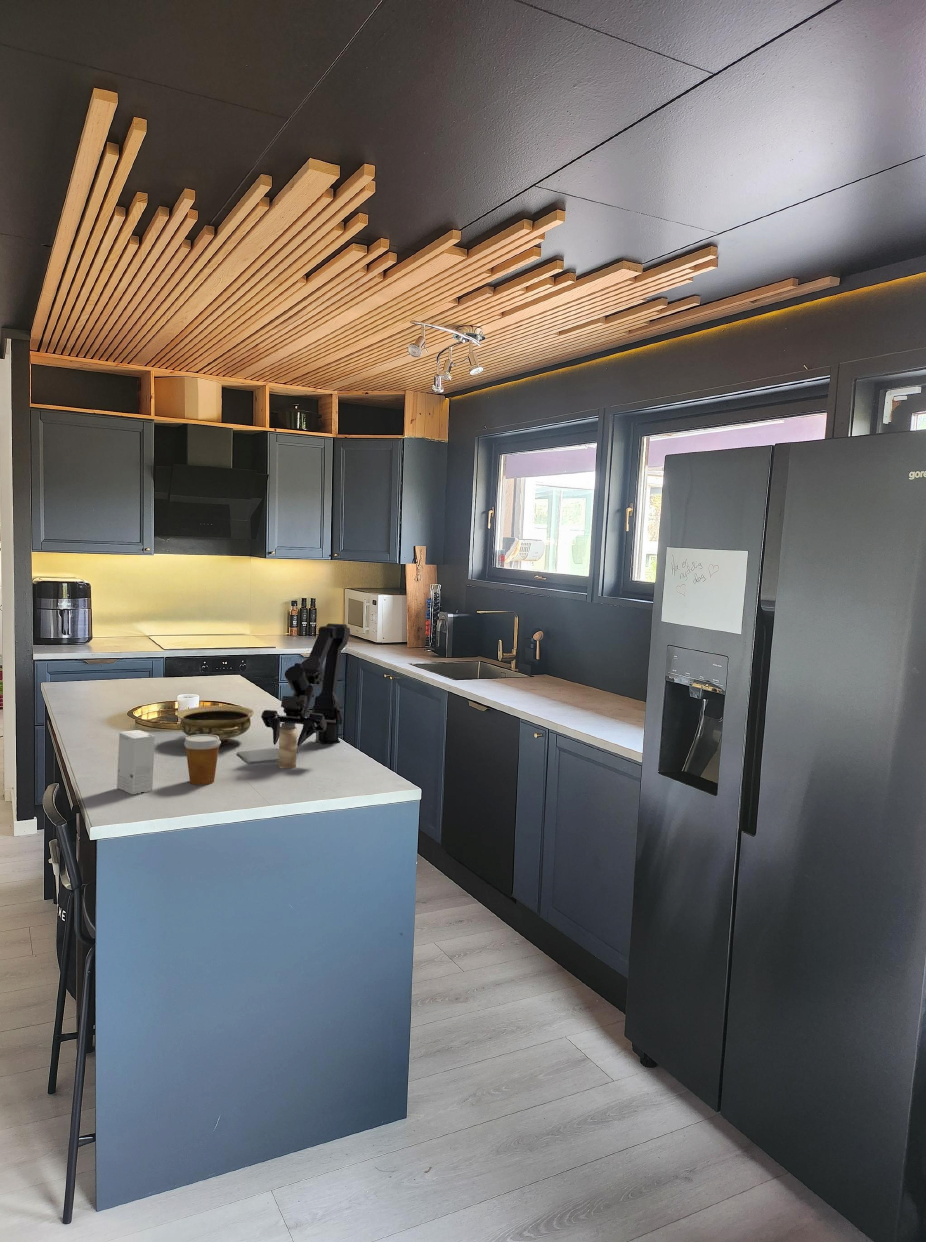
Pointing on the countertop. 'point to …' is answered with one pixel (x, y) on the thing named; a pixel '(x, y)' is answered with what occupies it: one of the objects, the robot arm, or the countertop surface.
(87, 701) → the countertop surface
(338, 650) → the robot arm
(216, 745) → the disposable coffee cup
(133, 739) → the skincare box
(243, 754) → the slate tile
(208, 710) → the gold ornate bowl
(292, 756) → the oak pepper mill
